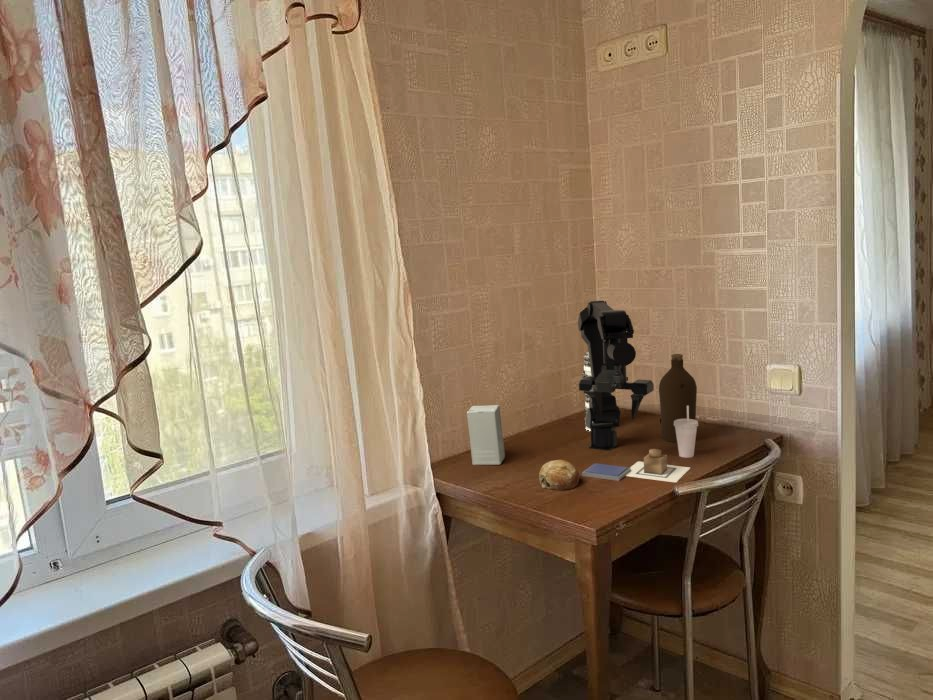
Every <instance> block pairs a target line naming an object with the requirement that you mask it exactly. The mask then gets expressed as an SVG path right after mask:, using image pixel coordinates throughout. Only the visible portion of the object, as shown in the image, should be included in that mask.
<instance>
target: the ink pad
mask: <svg viewBox="0 0 933 700" xmlns="http://www.w3.org/2000/svg"><path fill="white" fill-rule="evenodd" d="M630 471H631V468H630V467H627V466H622V465H621V466H619V465H611V464H603V463H593V464H591V465H590V466H589V467H587V468H586V469H585V470H584V471H582V472H581V476H582V477H587V478H590V477H591V478H596V479H603V480H609V481H611V480H612V481H617V482H620V481H621V480H622V479H623V478H624V477H626V476H625V475H626V474H627V473H629V472H630Z"/></svg>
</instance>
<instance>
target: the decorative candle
mask: <svg viewBox="0 0 933 700" xmlns="http://www.w3.org/2000/svg"><path fill="white" fill-rule="evenodd" d="M582 357H583V363H584V365H583V371H582V373H581V375H582V379H584V378H586V377H591V368H590V359H589V351H588V350H587V351H586V353H585V354H584V355H582ZM590 400H591V398H590V396H588V395H587V394H585V402H584V405H585V406H584V415H585V417H584V421H585V423H584V426H585V429H586V430H585V431H587V430H589V431H588V432H590V431H591V429H590V428H589V427H588V426H587V423H586V416H587V412H588V408H589V403H590Z"/></svg>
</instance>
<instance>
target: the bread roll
mask: <svg viewBox="0 0 933 700" xmlns="http://www.w3.org/2000/svg"><path fill="white" fill-rule="evenodd" d="M539 470H540V471H539V473H538V478H539V485H540V486H541V487H542V488H543V489H546V490H547V489H548V490H555V491H568V490H571V489H574V488H575V487H577V486H578V485H579V481H580V475H579V470H578V468H576V466H574V464H572V463H571V462H570V461H567V460H564V459H556V460H555V459H554V460H550V461H547V462H546V463H544V464H543V465H542V466H541V467H540V469H539Z"/></svg>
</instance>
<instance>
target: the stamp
mask: <svg viewBox="0 0 933 700" xmlns="http://www.w3.org/2000/svg"><path fill="white" fill-rule="evenodd" d="M643 462H644V473H648V474H656V475H662V474H663V473H664V472H665V471H666V470H667V465H668V455H667V454H663V453H662V450H661V449H659V448H651V449H649V450H648V453H647V455H645V456H644V457H643Z"/></svg>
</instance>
